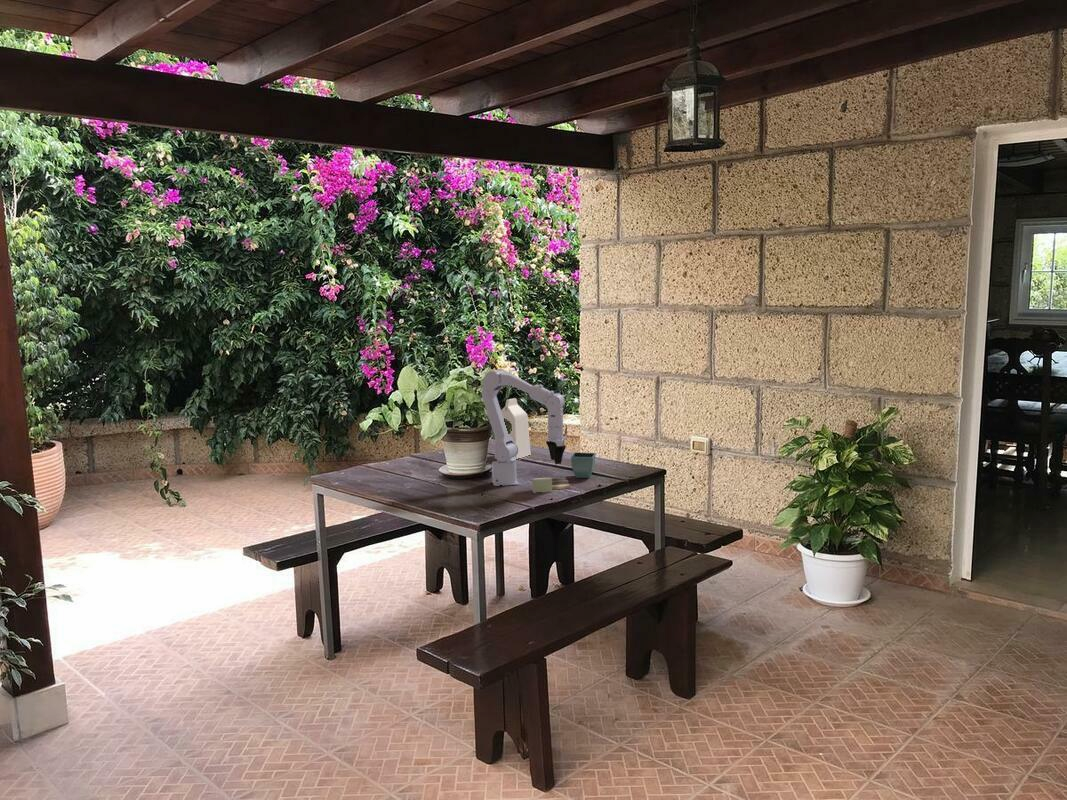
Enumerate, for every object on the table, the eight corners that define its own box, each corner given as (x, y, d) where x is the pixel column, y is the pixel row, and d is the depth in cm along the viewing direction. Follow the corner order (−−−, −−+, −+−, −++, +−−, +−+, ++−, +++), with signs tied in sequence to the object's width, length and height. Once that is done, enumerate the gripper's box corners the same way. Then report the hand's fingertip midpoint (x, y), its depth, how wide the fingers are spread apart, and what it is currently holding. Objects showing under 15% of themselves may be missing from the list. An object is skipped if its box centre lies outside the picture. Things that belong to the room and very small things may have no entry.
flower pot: (593, 479, 338) (592, 457, 337) (570, 479, 340) (570, 456, 338) (596, 474, 346) (595, 452, 345) (574, 474, 348) (574, 452, 347)
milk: (516, 460, 379) (515, 401, 375) (494, 458, 385) (493, 400, 381) (530, 455, 389) (529, 398, 385) (509, 453, 395) (508, 396, 391)
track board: (543, 489, 322) (543, 484, 322) (538, 482, 334) (538, 477, 334) (570, 488, 324) (570, 482, 324) (564, 481, 336) (564, 475, 335)
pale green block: (533, 493, 318) (533, 479, 318) (532, 491, 321) (532, 478, 320) (552, 492, 319) (551, 478, 319) (551, 490, 322) (550, 477, 321)
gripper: (570, 428, 318) (570, 465, 319) (562, 422, 332) (562, 457, 334) (551, 429, 316) (551, 466, 318) (544, 423, 331) (544, 458, 332)
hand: (556, 461), depth 326 cm, fingers open, 7 cm apart
